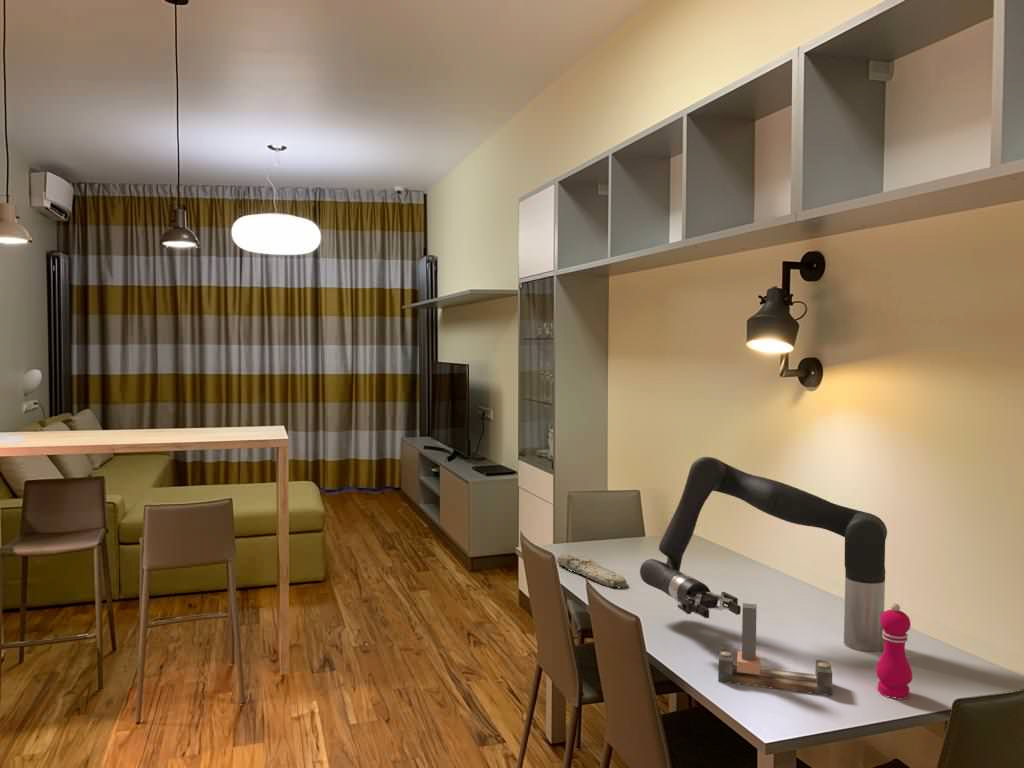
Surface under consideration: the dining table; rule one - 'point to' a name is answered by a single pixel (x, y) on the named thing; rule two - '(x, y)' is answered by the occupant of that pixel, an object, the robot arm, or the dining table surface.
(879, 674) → the pepper mill
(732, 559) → the dining table surface
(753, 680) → the rail
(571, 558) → the long grey stone
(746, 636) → the carriage
